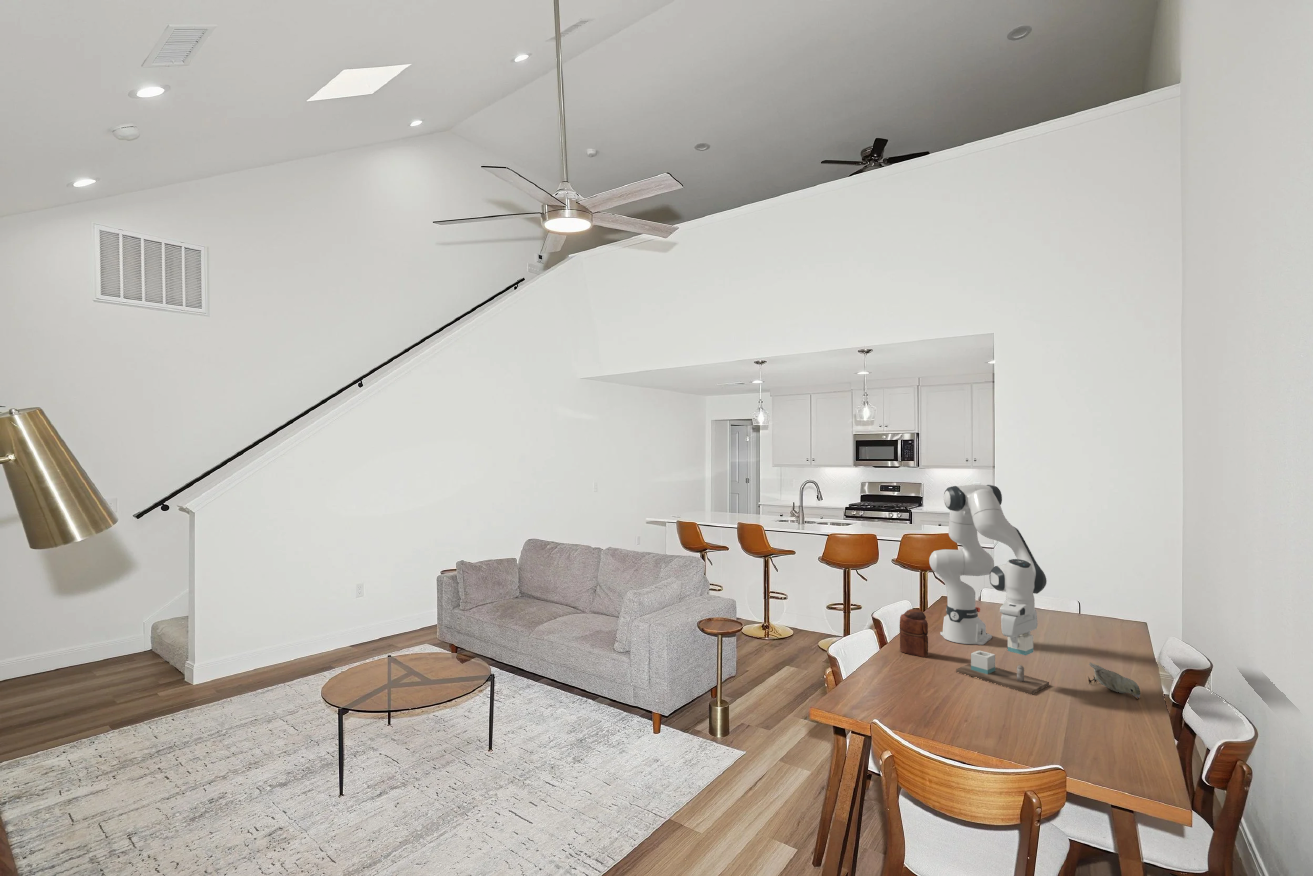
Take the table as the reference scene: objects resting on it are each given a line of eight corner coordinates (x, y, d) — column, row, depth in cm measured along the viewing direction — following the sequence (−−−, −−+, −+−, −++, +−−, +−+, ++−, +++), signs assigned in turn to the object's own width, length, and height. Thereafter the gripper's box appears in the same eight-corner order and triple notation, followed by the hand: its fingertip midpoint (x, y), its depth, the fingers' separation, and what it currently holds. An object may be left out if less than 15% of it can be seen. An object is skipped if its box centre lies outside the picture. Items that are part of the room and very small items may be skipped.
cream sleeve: (1015, 648, 224) (1015, 631, 224) (1033, 652, 219) (1033, 635, 220) (1007, 651, 221) (1007, 634, 221) (1025, 655, 216) (1025, 638, 216)
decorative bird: (1134, 701, 206) (1133, 679, 206) (1085, 684, 221) (1084, 663, 221) (1144, 699, 208) (1144, 677, 208) (1095, 682, 223) (1095, 661, 223)
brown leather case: (931, 654, 251) (931, 610, 251) (926, 658, 246) (926, 613, 247) (902, 648, 259) (902, 605, 259) (896, 652, 254) (896, 608, 254)
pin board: (974, 664, 240) (974, 647, 240) (1049, 685, 219) (1048, 666, 219) (956, 672, 232) (956, 654, 232) (1031, 694, 211) (1031, 675, 211)
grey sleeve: (978, 666, 235) (978, 650, 235) (995, 670, 230) (995, 654, 230) (971, 669, 231) (970, 653, 231) (987, 674, 226) (987, 657, 226)
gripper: (1023, 600, 229) (1024, 638, 229) (997, 608, 217) (997, 648, 217) (1042, 604, 224) (1042, 642, 224) (1016, 612, 212) (1016, 653, 212)
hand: (1020, 645), depth 220 cm, fingers closed on cream sleeve, 6 cm apart
